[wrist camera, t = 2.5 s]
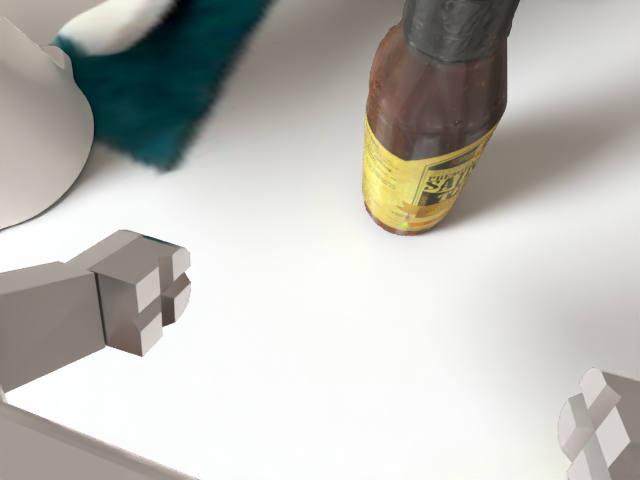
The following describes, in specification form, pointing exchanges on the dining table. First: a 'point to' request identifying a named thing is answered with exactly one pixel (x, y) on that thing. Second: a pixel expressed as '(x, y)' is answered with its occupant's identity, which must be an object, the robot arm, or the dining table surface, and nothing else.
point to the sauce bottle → (432, 108)
